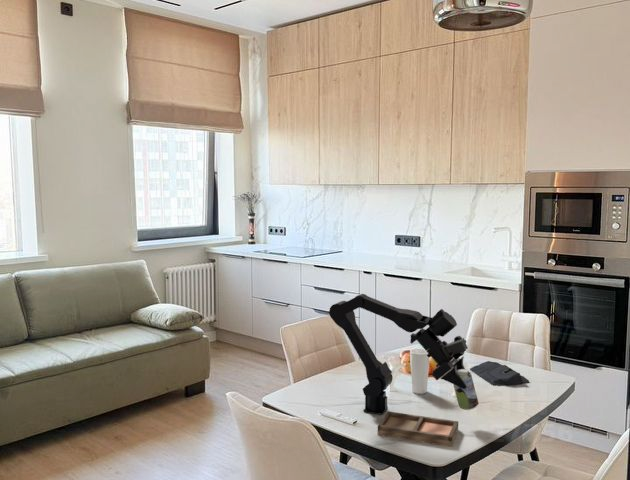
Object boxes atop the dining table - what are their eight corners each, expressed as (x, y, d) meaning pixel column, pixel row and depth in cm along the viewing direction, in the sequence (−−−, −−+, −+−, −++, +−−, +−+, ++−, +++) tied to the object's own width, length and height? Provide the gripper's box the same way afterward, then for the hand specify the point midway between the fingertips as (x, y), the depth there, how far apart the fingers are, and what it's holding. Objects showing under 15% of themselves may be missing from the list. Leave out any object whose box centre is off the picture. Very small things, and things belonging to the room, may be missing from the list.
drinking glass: (424, 396, 204) (425, 355, 203) (407, 392, 208) (407, 352, 206) (431, 390, 210) (432, 350, 209) (414, 387, 214) (414, 347, 212)
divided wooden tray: (377, 434, 174) (377, 425, 173) (388, 419, 185) (388, 411, 184) (451, 446, 165) (451, 437, 165) (458, 430, 176) (458, 421, 176)
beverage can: (478, 412, 175) (475, 374, 174) (454, 412, 177) (450, 375, 176) (479, 403, 181) (475, 366, 179) (455, 403, 183) (451, 367, 182)
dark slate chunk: (501, 367, 238) (501, 355, 237) (532, 385, 216) (532, 372, 216) (466, 370, 234) (467, 358, 234) (495, 388, 213) (495, 376, 212)
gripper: (444, 337, 170) (481, 379, 166) (458, 323, 186) (492, 361, 183) (417, 359, 174) (453, 400, 170) (434, 343, 191) (466, 381, 187)
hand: (467, 385), depth 178 cm, fingers closed on beverage can, 6 cm apart
